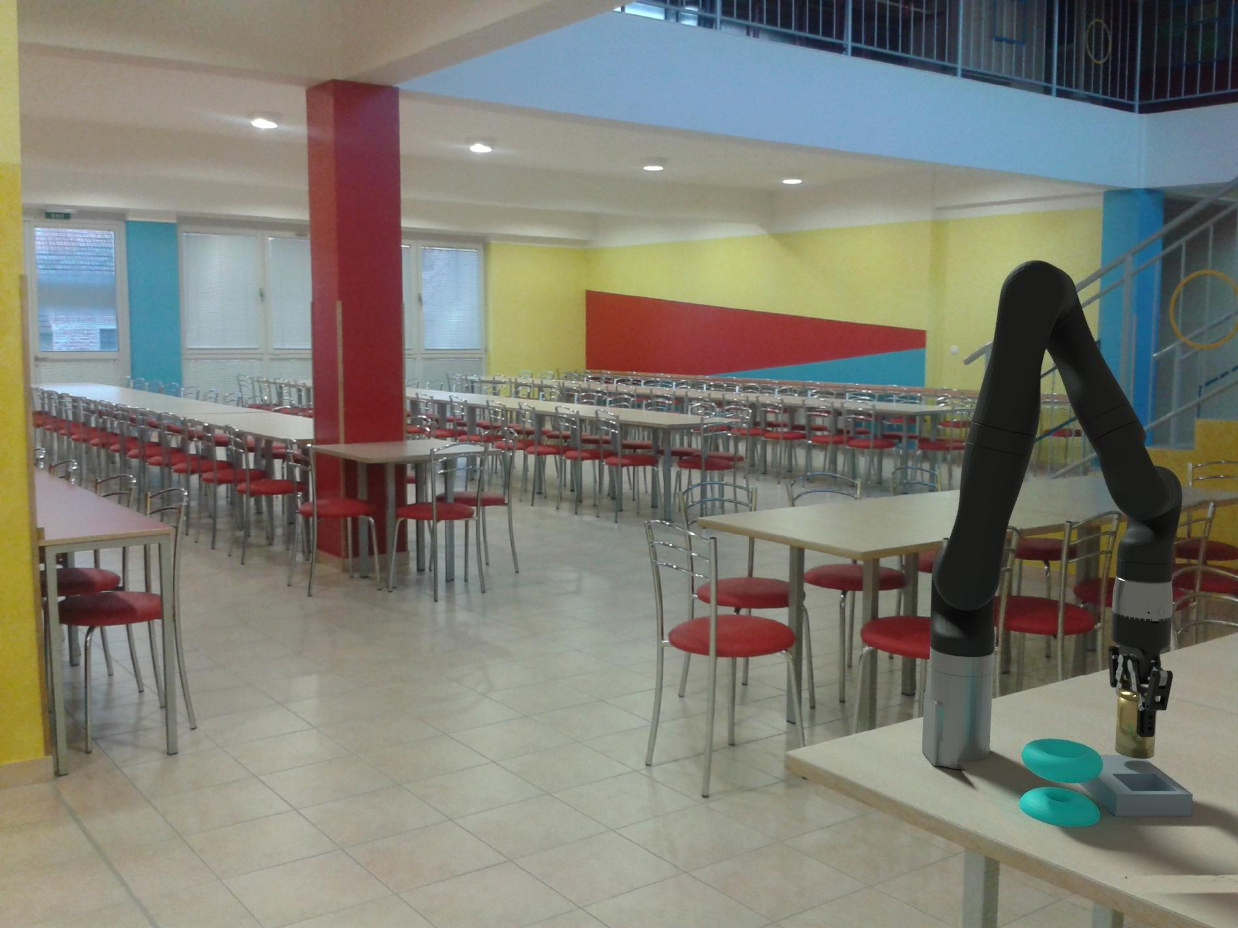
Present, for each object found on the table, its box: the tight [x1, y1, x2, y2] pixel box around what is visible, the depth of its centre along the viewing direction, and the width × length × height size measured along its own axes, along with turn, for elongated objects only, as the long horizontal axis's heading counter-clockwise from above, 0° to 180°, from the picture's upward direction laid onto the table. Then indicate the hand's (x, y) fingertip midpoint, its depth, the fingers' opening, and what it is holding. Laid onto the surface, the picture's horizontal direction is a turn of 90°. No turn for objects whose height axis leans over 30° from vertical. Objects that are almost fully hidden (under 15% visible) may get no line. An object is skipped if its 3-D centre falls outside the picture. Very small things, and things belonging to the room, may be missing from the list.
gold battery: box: [1114, 685, 1158, 760], centre depth 155 cm, size 5×5×10 cm
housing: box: [1078, 754, 1194, 818], centre depth 152 cm, size 10×14×4 cm
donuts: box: [1018, 738, 1103, 828], centre depth 146 cm, size 10×10×10 cm
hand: (1135, 728), depth 155 cm, fingers closed on gold battery, 5 cm apart
